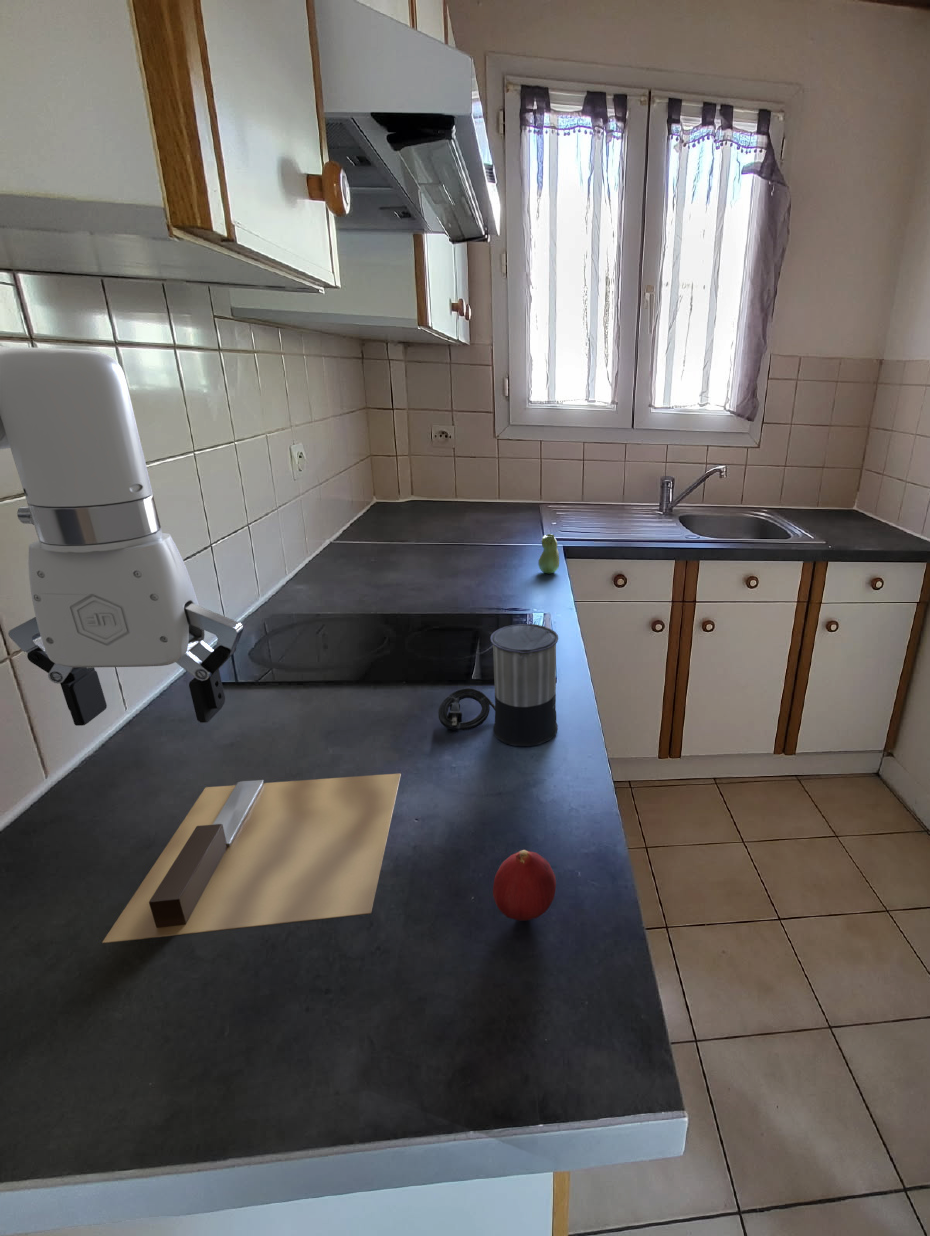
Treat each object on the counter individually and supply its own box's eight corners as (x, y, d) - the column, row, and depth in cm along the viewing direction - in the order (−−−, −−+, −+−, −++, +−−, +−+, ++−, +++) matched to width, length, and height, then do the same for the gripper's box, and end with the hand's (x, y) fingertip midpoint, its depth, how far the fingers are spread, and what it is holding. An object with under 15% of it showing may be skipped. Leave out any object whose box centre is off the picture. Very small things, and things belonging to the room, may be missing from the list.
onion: (511, 887, 64) (509, 822, 61) (564, 901, 63) (565, 836, 60) (483, 931, 59) (480, 863, 56) (541, 948, 58) (540, 879, 55)
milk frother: (567, 740, 90) (568, 644, 84) (454, 764, 83) (448, 662, 78) (535, 695, 102) (534, 608, 96) (434, 713, 95) (427, 621, 90)
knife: (188, 924, 57) (181, 898, 56) (153, 928, 56) (145, 902, 55) (264, 782, 76) (260, 761, 75) (238, 784, 75) (234, 763, 74)
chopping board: (105, 955, 55) (100, 943, 55) (207, 797, 75) (205, 787, 75) (372, 925, 59) (371, 913, 59) (402, 783, 79) (401, 772, 79)
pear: (558, 576, 159) (558, 537, 156) (537, 575, 159) (536, 536, 156) (559, 570, 165) (560, 532, 161) (539, 569, 164) (539, 531, 161)
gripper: (-69, 533, 45) (9, 742, 51) (194, 534, 47) (238, 736, 53) (14, 510, 52) (74, 697, 58) (240, 512, 53) (274, 693, 60)
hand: (152, 716), depth 55 cm, fingers open, 9 cm apart
